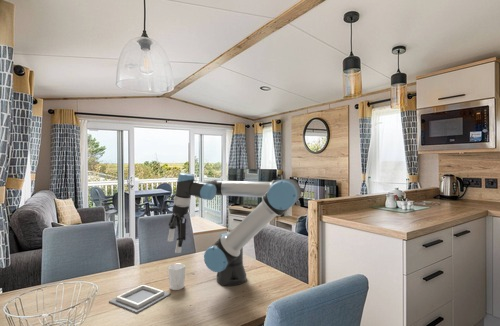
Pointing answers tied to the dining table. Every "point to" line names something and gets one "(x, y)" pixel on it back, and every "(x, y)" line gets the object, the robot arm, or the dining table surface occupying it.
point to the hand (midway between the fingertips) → (173, 246)
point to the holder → (139, 298)
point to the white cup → (176, 276)
